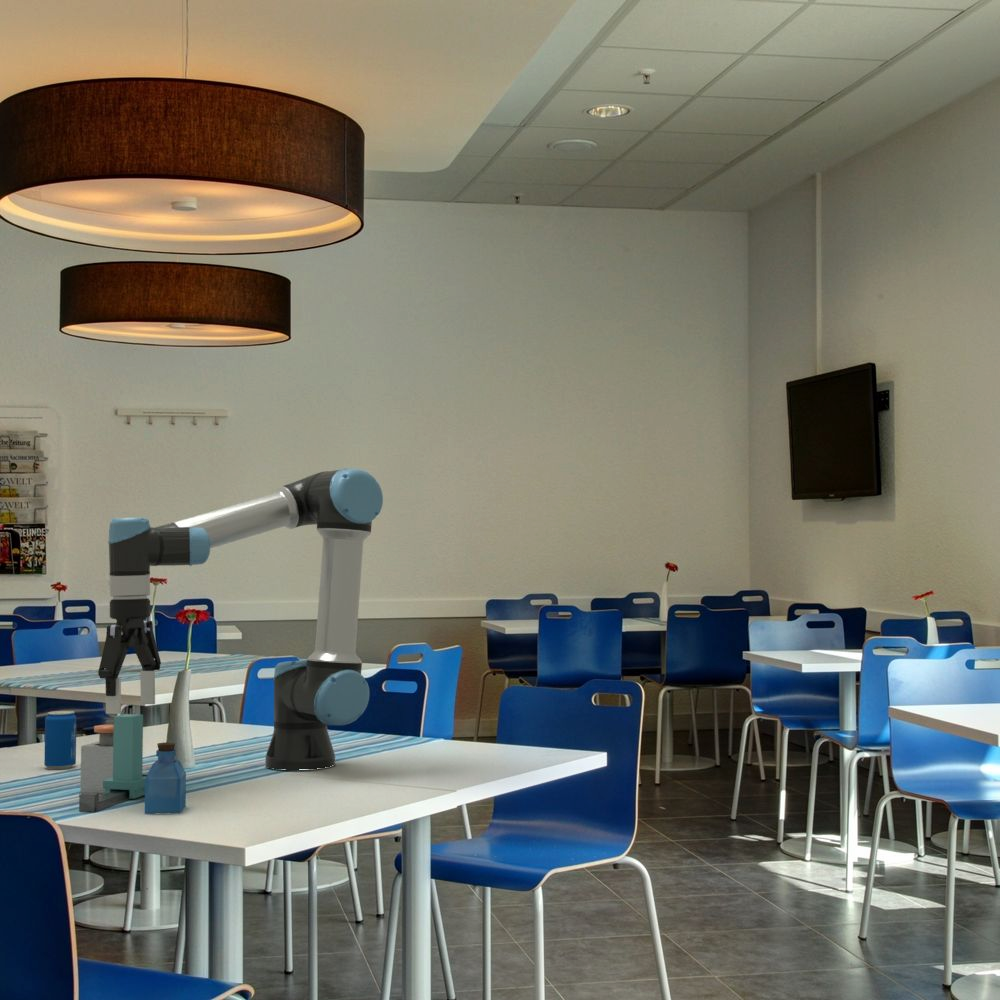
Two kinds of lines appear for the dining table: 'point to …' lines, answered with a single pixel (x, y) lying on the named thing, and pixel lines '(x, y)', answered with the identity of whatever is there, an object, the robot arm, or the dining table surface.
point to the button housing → (95, 767)
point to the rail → (102, 799)
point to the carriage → (127, 756)
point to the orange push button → (105, 734)
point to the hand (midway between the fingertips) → (131, 708)
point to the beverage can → (60, 740)
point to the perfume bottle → (165, 783)
